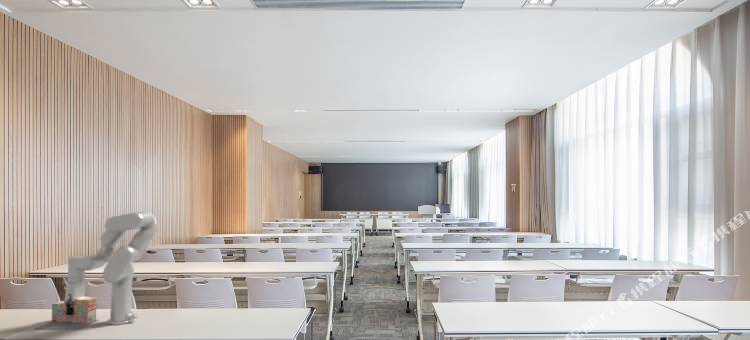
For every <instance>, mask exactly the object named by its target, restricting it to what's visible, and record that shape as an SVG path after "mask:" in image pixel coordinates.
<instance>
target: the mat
mask: <svg viewBox="0 0 750 340" xmlns="http://www.w3.org/2000/svg"><path fill="white" fill-rule="evenodd" d="M96 322H99V319H96V320H95V321H93V322H90V323H87V324H84V323H71V322H57V321H52V320H51V321H50V322H47V323H45V324H43V325H41V326H39V327H38V326H37V327H36V328H35V329H34V330H35V331H36V330H81V329H84V328H85V327H87V326H90V325H92V324H94V323H96Z"/></svg>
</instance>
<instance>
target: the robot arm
mask: <svg viewBox="0 0 750 340" xmlns="http://www.w3.org/2000/svg"><path fill="white" fill-rule="evenodd" d="M157 220H158V219H157V218H156V216H155V215H154V214H153V213H151V212H149V211H136V212H130V213H125V214H120V215H114V216H110V217H109V218H107V219H106V220H105V222H104V228H105V230H104V232H103V233H102V234H101V236H100V238H99V240H100V242H101V243H102V244H101V246H100V248H99V249H98V250H97V251H96V253H95V254H92V255H88V256H84V255H73V256H69V258H68V262H67V263H68V264H67V268H68V269H67V284H66V288H65V294H64V300H63V301H64V303H65V305H66V308H67V310H66V315H73V304H74V302H75V299H77V298H80V297H87V293H86V287H85V286H86V285H85V278H86V272H89V271H92V270H95V269H98V268H103V266H105V267H104V269H103V271H102V277H103V279H104V281H106V283H109V284H111V288H110V291H111V292H110V314H109V315H110V317H109V319H107V320H106V324H107V325H111V326H114V325H115V326H116V325H123V324H124V325H125V324H128V323H132V322H134V320H136V319H138V318H139V314H137V313H134V311H132V291H133V289H132V288H133V279H134V275H135V274H134V273H135V268H134V265H133V264H132V263H135V262H138V261H139V260H140V259H141V257H142V256H143V254H144V253H145V251H146V250H147V247H148V246H149V244H150V243H151V241H152V239H153V238H154V236H155V234H156V232H157V230H158V221H157ZM136 229H138V231H137V232H136V233H135V234H134V236H133V237H132V239H131V240H130V241H129V243H128V244H126V245H123V246H120V247H118V248H117V249H116V245H117V244H118V243H119V241H120V240H121V238H122V237H123V236H124V235H125V233H126V232H127V231H129V230H136ZM115 249H116V250H115ZM106 263H107V264H106ZM70 300H72V301H70ZM70 303H71V304H70Z"/></svg>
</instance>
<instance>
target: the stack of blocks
mask: <svg viewBox="0 0 750 340" xmlns="http://www.w3.org/2000/svg"><path fill="white" fill-rule="evenodd" d="M97 300H98V297H95V296H94V297H92V296H86V297H80V298H77V299H75V302H74V304H73V315H66V310H67V308H66V305H65V303H64V301H65V300H61V301H58V302H54V303H52V304H51V322H52V321H57V322H71V323H84V324H87V323H90V322H93V321H95V320H97V305H98V304H97ZM70 301H72V300H70ZM70 304H71V303H70Z"/></svg>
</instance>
